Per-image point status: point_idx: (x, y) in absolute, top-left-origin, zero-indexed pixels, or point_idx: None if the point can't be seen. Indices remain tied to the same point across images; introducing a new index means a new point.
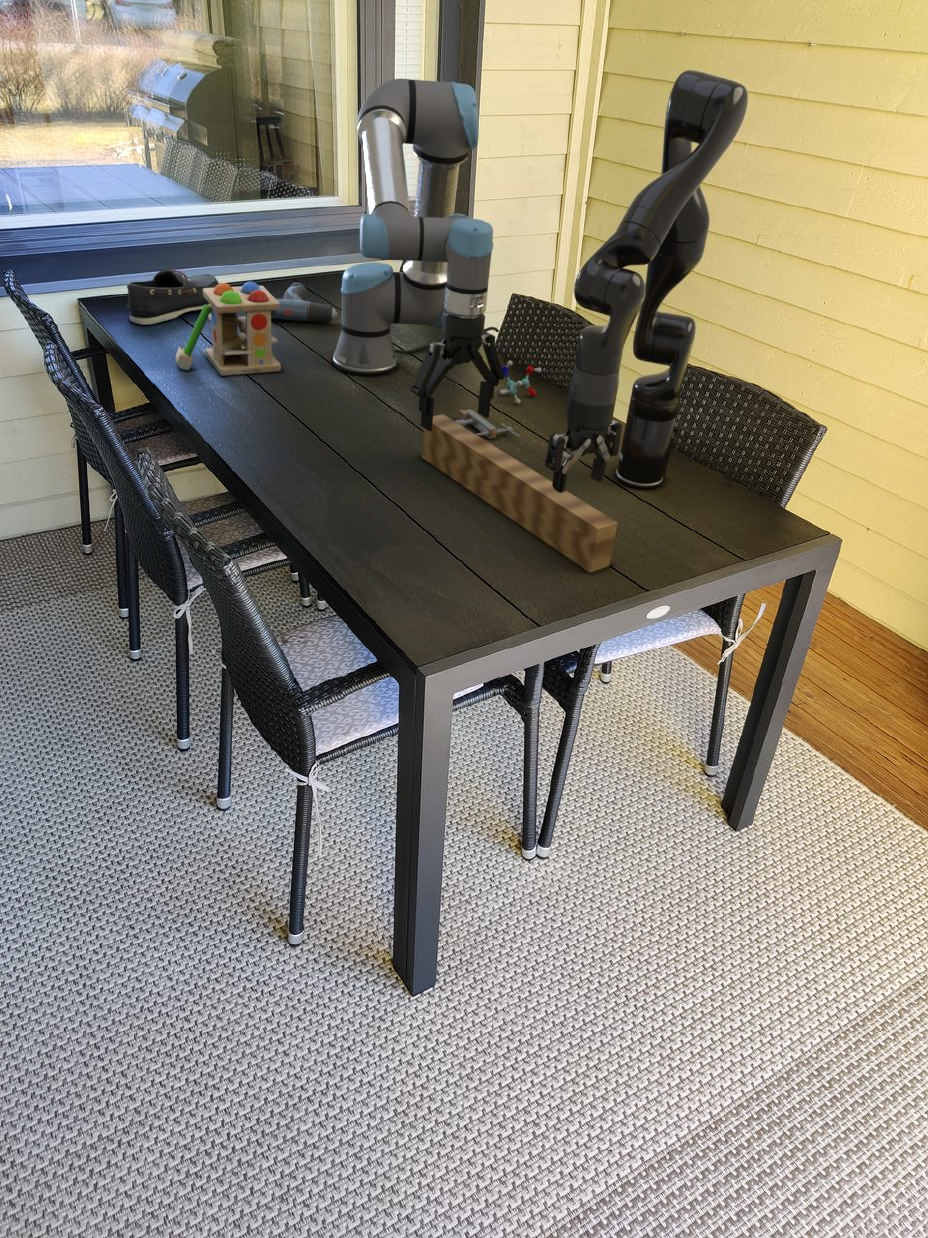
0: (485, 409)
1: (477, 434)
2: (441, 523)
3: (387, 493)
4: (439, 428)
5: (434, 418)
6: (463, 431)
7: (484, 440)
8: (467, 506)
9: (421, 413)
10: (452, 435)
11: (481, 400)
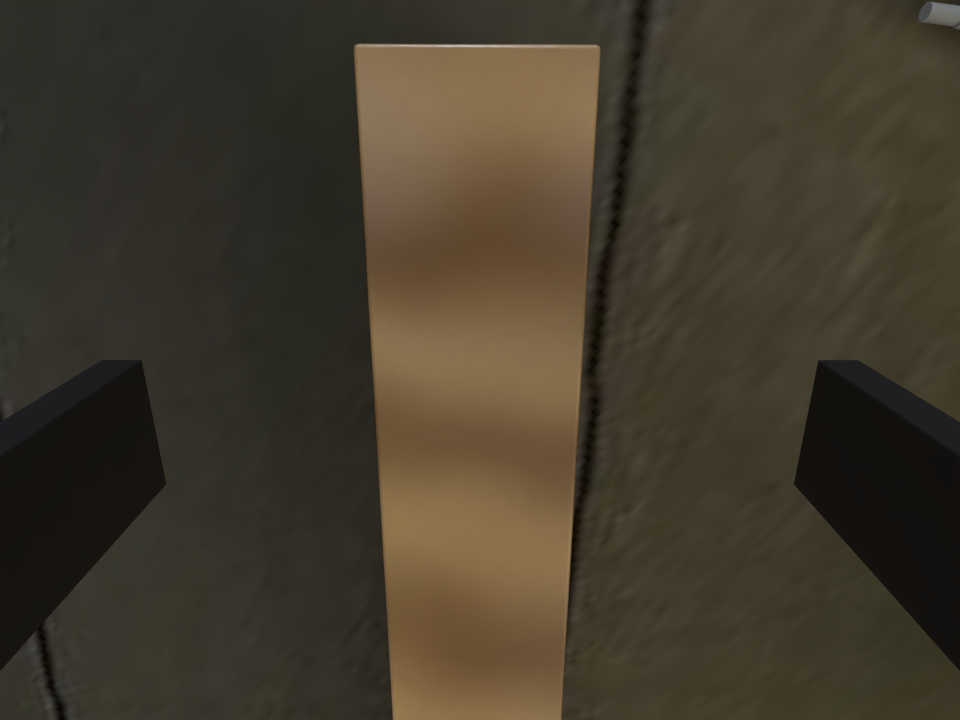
0: (840, 514)
1: (932, 19)
2: (143, 682)
3: (12, 377)
4: (370, 315)
5: (448, 105)
6: (519, 460)
7: (558, 640)
8: (323, 625)
9: (11, 416)
10: (387, 483)
11: (906, 478)
